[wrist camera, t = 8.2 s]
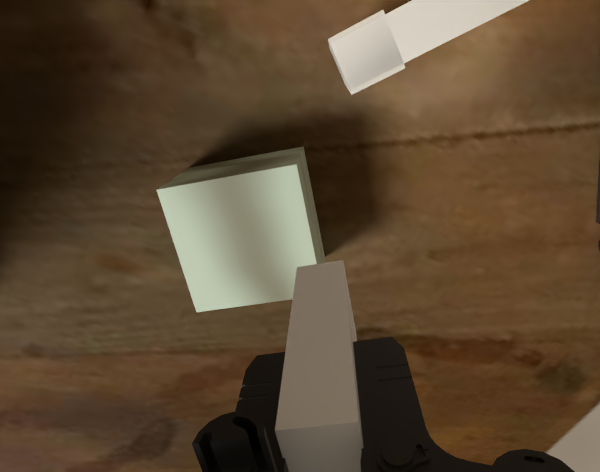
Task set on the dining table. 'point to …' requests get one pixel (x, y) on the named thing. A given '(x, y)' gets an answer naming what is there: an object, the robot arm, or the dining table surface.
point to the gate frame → (598, 203)
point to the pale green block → (243, 228)
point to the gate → (406, 36)
